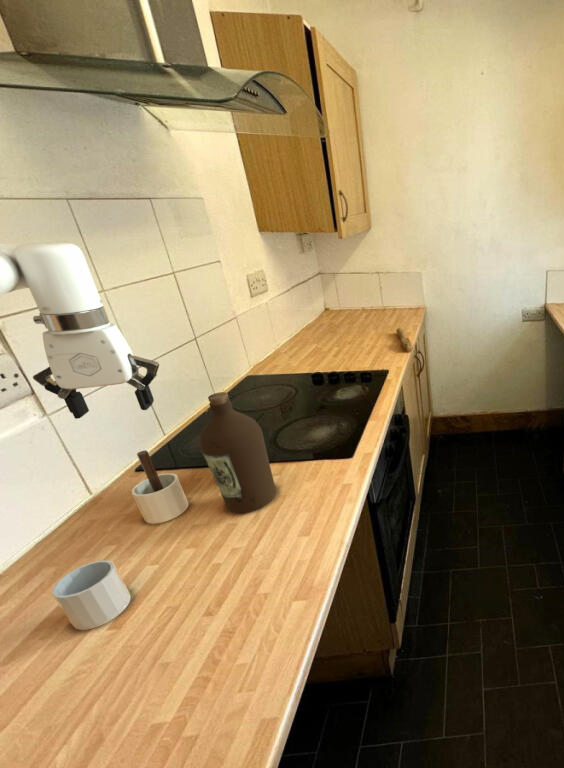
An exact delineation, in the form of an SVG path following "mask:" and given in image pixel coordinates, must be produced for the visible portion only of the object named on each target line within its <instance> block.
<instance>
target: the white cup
mask: <svg viewBox="0 0 564 768" xmlns="http://www.w3.org/2000/svg"><path fill="white" fill-rule="evenodd" d="M158 477H159V479H160V481H161V484H162V486H163V488H164V489H162V490H160V491H157V492H154V491H153V489H152V487H151V485H150V483H149V480H148V478H146V479H143V480H141V481H140V482H138V483H137V484H136V485H135V486H134V487H133V488H132V489H131V495H132V497H133V499H134V501H135V503H136V505H137V508H138V509H139V512H140V514H141V516H142V518H143V520H144V521H145V522H146V523H147V524H151V525H152V524H153V525H156V524H162V523H166V522H168V521H171V520H173V519H175V518H177V517H178V516H181V515H182V514H183V513H184V512H185V511H186V510H187V509H188V508H189V500H188V499H187V495H186V493H185V491H184V488H183V486H182V483H181V482H180V479H179V477H178V475H177V474H176V473H171V472H170V473H167V472H166V473H161V474H160V473H159V474H158Z"/></svg>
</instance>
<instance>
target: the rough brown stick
mask: <svg viewBox="0 0 564 768" xmlns="http://www.w3.org/2000/svg"><path fill="white" fill-rule="evenodd" d="M395 331H396V334H397V335H398V337H399V339H400V342H401V346H402V348H403V350H404V351H406V352H409V353H410V352H412V350H413V347H412V342H411V340H410V339H409V337H406V335H405V332H404V330H403V328H400V327H399V328H398V327H397V328H396V330H395Z"/></svg>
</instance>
